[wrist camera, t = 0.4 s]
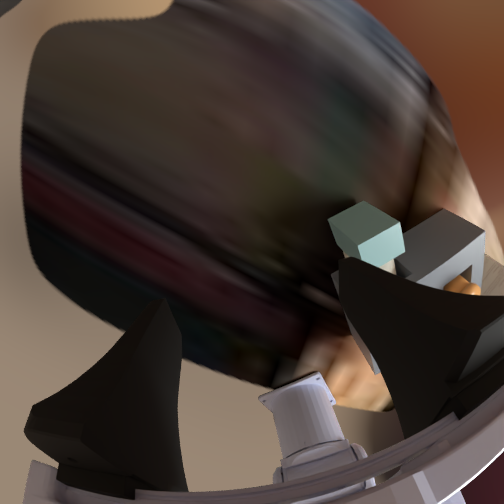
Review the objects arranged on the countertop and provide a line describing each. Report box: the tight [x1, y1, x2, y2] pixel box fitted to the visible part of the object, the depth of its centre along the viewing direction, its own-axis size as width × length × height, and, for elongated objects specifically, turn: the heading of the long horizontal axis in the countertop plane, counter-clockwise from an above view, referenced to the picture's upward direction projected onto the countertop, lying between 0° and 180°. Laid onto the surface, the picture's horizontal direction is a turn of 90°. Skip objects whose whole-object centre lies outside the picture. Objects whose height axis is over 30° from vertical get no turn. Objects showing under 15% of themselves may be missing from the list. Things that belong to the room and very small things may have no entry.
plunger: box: [443, 275, 481, 295], centre depth 19 cm, size 3×3×4 cm
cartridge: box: [328, 201, 405, 275], centre depth 20 cm, size 12×4×5 cm, turn 26°
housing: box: [331, 209, 485, 375], centre depth 22 cm, size 9×14×6 cm, turn 116°
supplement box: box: [480, 254, 504, 296], centre depth 22 cm, size 7×7×13 cm
